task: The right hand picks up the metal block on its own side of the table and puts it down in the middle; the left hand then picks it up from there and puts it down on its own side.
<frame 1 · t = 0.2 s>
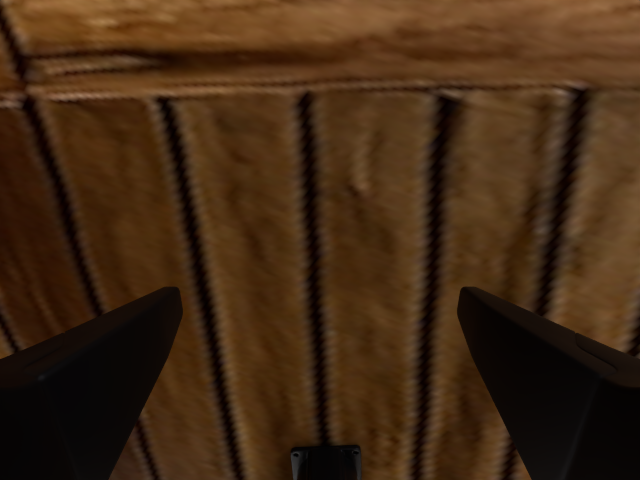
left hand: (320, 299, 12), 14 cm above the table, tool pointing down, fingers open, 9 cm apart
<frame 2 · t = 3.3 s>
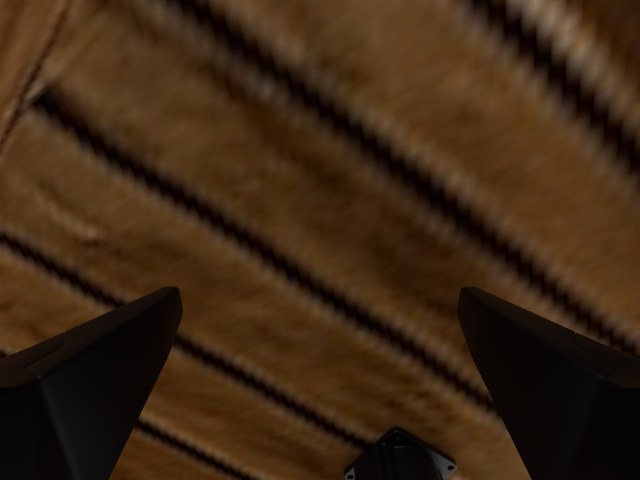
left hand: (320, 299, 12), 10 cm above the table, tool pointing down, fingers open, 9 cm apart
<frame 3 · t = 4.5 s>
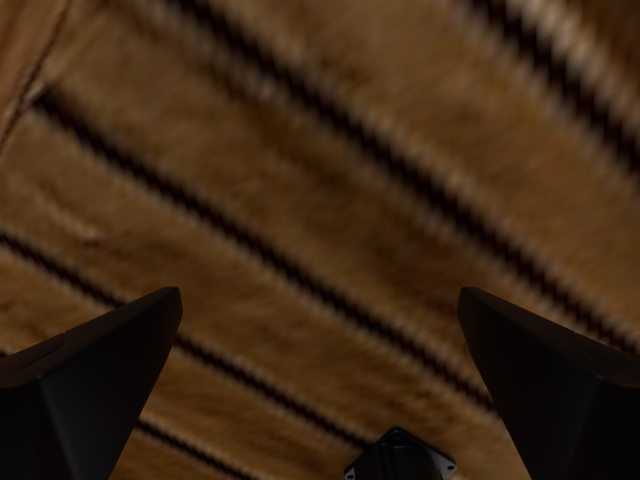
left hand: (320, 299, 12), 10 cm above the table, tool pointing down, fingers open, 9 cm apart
when the right hand's fingers open (0 cm above the table, at t = 5.6 s): block stays where it is, on the table.
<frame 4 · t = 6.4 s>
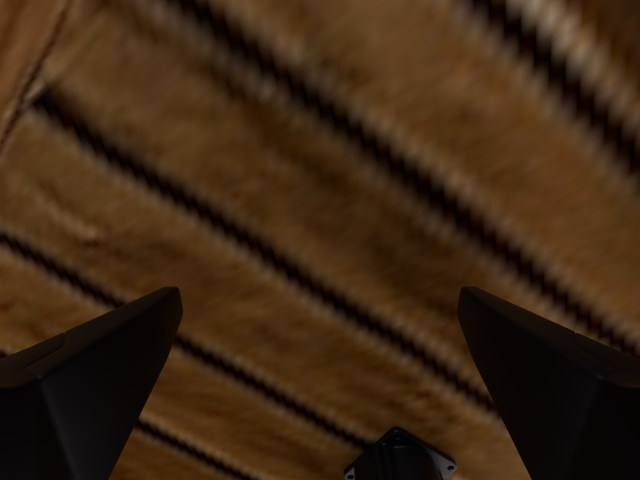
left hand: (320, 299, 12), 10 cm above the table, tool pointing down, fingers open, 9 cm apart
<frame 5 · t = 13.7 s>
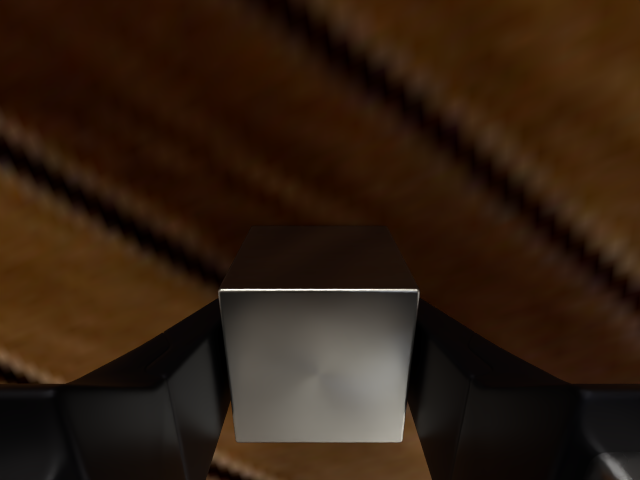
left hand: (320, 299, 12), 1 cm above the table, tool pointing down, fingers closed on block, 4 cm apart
block: (319, 287, 13), on the table, touching left hand
when the left hand's fingers open (2 cm above the table, at t = 16.7 s): block stays where it is, on the table.
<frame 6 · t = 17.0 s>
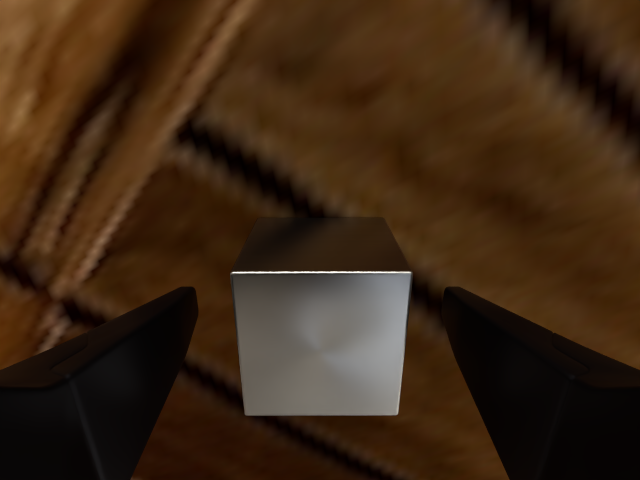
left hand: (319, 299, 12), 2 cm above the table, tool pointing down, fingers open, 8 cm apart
block: (320, 276, 13), on the table
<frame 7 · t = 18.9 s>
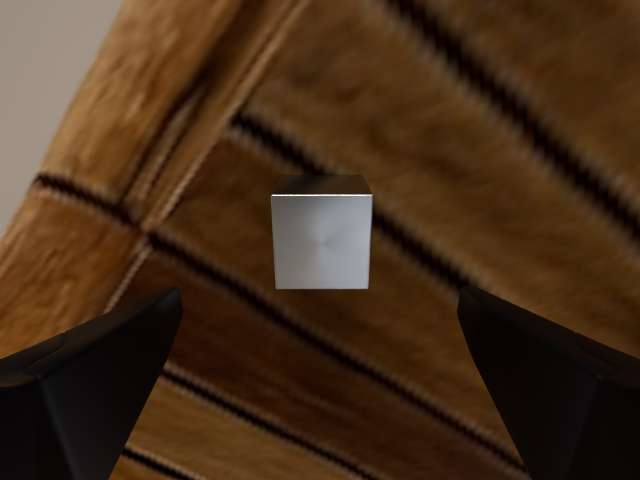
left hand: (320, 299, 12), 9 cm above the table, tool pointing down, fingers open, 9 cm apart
block: (321, 215, 20), on the table
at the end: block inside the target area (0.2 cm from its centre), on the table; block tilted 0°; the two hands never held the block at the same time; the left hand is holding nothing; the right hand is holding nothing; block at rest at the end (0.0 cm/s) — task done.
